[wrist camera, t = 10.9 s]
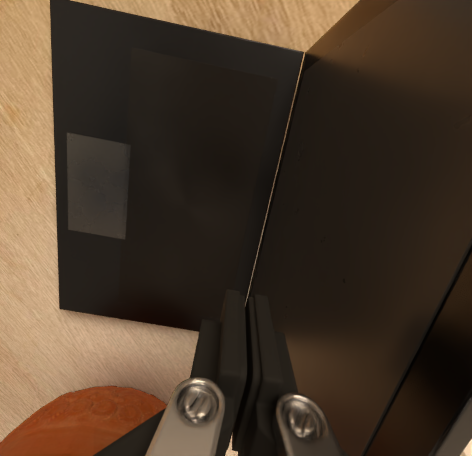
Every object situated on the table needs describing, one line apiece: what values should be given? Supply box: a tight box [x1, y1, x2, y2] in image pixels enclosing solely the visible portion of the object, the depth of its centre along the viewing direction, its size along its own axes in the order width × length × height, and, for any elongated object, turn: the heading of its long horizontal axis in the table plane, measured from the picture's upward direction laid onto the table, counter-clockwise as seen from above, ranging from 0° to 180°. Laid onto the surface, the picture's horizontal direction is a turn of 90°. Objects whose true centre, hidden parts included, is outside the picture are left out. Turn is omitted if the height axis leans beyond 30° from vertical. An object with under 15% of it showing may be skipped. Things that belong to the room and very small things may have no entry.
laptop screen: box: [248, 0, 472, 456], centre depth 16 cm, size 21×30×1 cm
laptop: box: [50, 0, 304, 332], centre depth 26 cm, size 21×30×2 cm
